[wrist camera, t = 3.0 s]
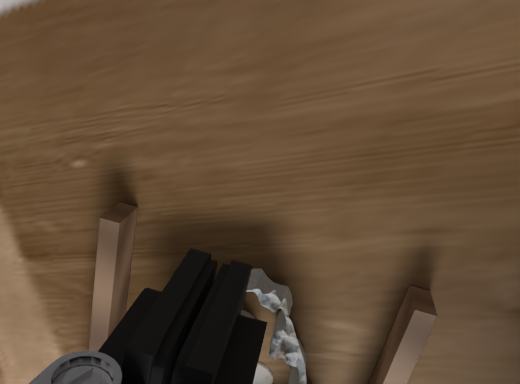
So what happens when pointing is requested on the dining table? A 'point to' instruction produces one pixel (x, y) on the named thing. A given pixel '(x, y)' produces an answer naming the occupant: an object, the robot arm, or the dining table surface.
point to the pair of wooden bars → (117, 281)
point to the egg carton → (278, 329)
